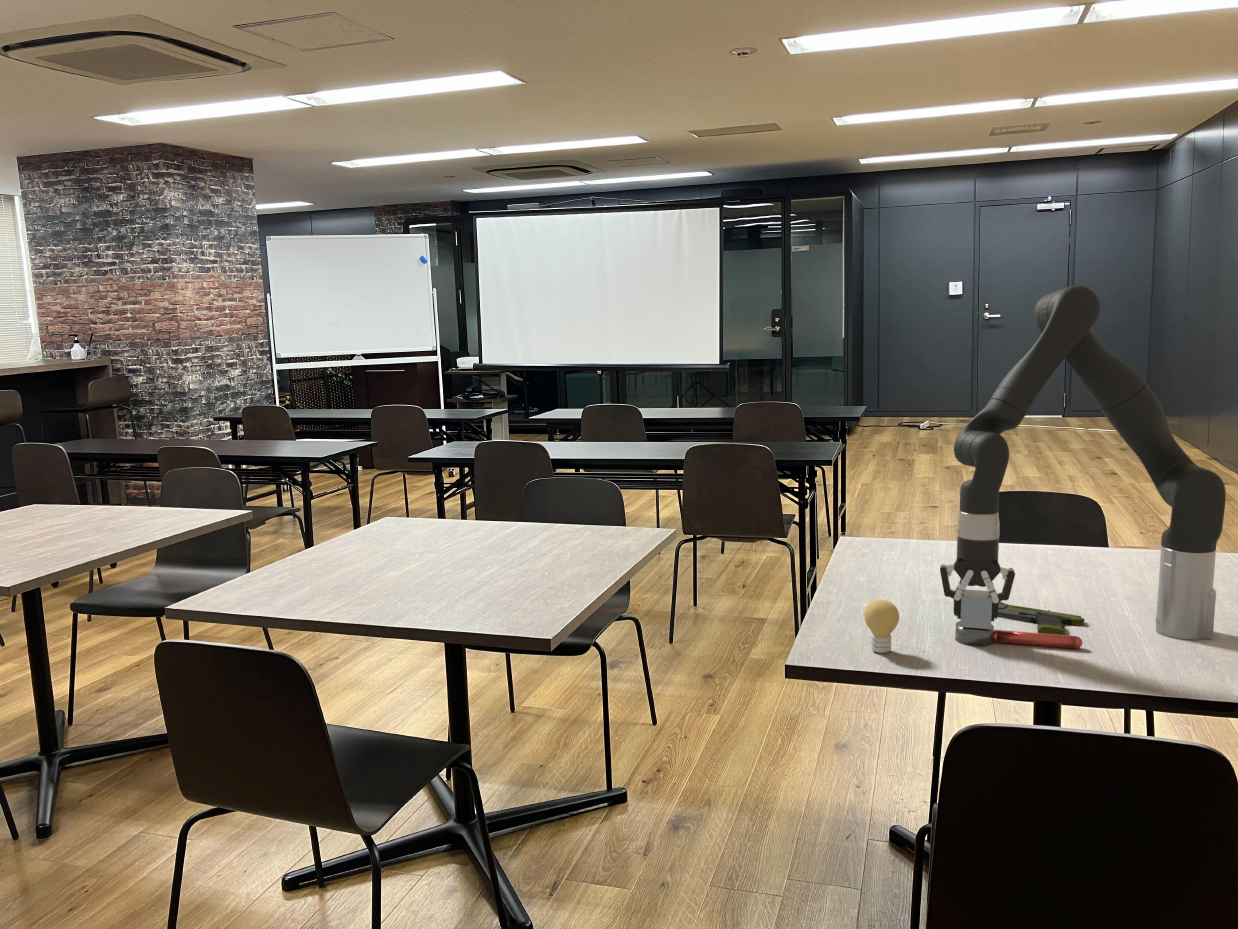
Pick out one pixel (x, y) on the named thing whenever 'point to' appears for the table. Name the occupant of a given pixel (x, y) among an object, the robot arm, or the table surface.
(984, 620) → the grey bevelled cube
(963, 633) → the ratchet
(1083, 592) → the table surface
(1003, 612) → the gun
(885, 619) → the light bulb
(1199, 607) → the robot arm
